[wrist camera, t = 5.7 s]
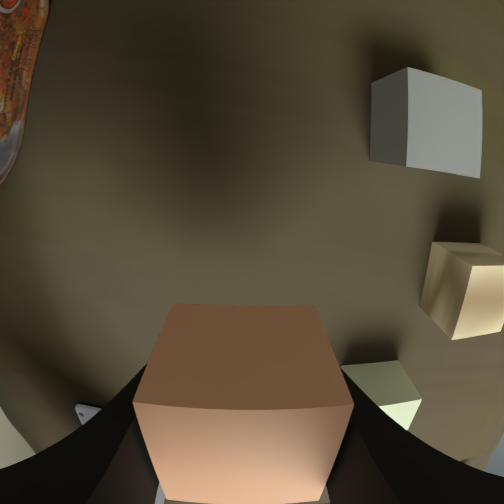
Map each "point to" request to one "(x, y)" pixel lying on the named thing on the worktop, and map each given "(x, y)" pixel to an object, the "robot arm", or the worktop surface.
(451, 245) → the maple block
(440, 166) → the slate block
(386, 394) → the sage block
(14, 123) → the tin
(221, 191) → the worktop surface
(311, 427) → the terracotta block
